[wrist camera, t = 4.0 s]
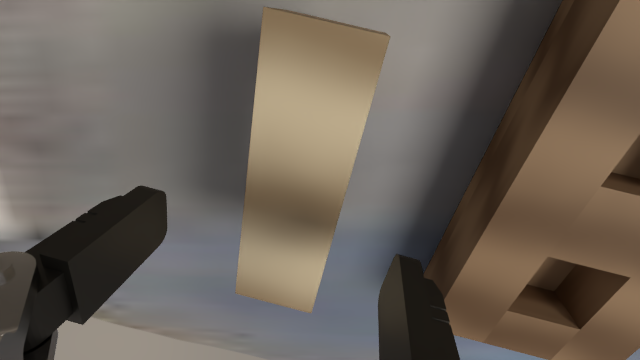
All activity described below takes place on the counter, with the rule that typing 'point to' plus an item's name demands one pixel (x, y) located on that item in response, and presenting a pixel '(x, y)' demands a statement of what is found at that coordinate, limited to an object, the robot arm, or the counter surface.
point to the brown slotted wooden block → (557, 201)
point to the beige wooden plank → (302, 149)
